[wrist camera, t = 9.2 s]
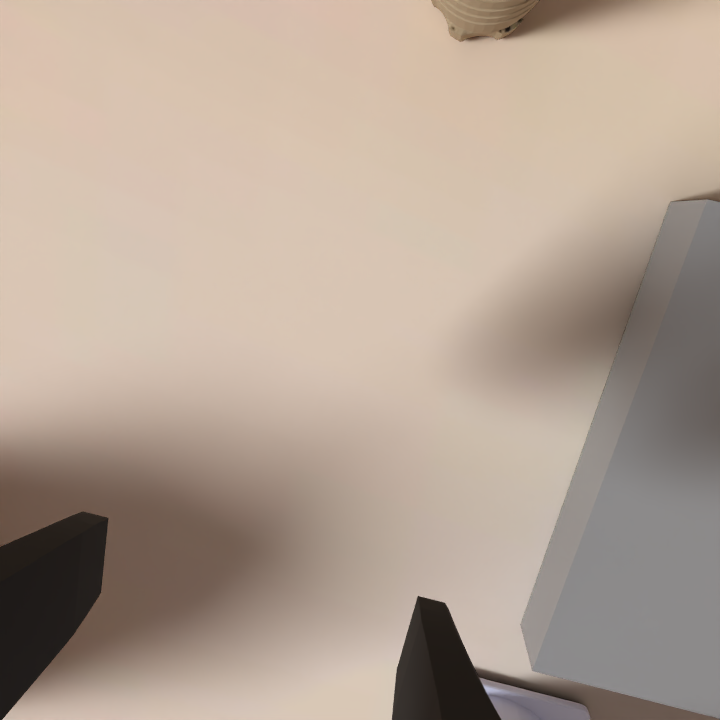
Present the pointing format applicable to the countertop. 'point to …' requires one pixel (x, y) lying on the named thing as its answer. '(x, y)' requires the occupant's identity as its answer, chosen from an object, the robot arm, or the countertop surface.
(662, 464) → the socket plate
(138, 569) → the countertop surface
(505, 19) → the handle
